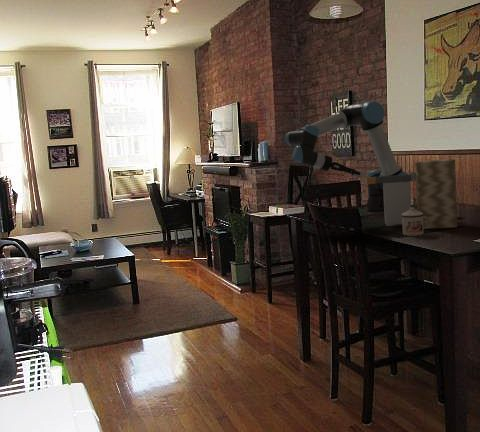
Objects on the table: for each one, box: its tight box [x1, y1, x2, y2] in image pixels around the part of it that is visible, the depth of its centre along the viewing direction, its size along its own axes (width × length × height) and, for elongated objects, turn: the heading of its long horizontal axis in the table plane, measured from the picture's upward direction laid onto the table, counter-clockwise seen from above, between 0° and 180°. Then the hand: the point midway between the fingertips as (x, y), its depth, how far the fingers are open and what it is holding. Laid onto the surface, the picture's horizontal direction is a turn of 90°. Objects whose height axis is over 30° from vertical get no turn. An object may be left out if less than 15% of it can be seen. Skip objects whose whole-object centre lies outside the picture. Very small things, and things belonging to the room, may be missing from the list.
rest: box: [383, 181, 412, 227], centre depth 254 cm, size 12×10×20 cm
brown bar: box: [366, 171, 416, 185], centre depth 252 cm, size 24×8×4 cm, turn 76°
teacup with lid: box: [401, 207, 431, 237], centre depth 226 cm, size 12×9×12 cm
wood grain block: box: [414, 158, 458, 230], centre depth 237 cm, size 16×9×30 cm, turn 76°
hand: (360, 174), depth 266 cm, fingers open, 13 cm apart
